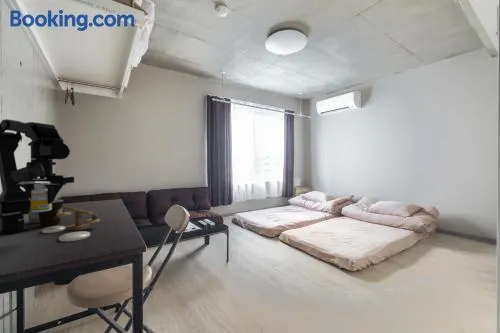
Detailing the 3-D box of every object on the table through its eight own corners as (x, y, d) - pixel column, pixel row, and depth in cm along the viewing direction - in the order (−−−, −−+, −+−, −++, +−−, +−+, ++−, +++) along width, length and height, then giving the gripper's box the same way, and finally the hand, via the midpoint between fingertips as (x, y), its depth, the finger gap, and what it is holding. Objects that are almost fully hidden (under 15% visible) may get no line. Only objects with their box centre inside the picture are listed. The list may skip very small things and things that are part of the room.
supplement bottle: (40, 209, 82) (40, 182, 82) (55, 209, 82) (56, 182, 82) (26, 212, 77) (26, 183, 76) (43, 212, 77) (43, 184, 77)
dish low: (51, 241, 77) (51, 239, 77) (72, 233, 86) (72, 231, 86) (78, 241, 77) (78, 239, 77) (95, 233, 86) (95, 231, 86)
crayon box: (28, 222, 99) (28, 196, 98) (34, 221, 102) (34, 195, 101) (45, 223, 99) (45, 196, 99) (51, 221, 102) (51, 195, 102)
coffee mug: (47, 228, 92) (47, 203, 92) (31, 226, 94) (31, 202, 93) (75, 220, 103) (75, 199, 103) (59, 219, 105) (59, 198, 105)
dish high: (36, 233, 86) (36, 230, 86) (52, 227, 93) (52, 225, 93) (55, 233, 86) (55, 231, 86) (69, 227, 93) (69, 226, 93)
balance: (52, 229, 90) (52, 207, 90) (63, 226, 95) (63, 204, 95) (94, 230, 90) (94, 207, 90) (102, 226, 95) (102, 205, 95)
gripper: (-12, 158, 71) (-11, 207, 71) (48, 159, 71) (48, 208, 71) (24, 158, 82) (24, 201, 83) (75, 159, 82) (75, 202, 83)
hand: (42, 203), depth 79 cm, fingers closed on supplement bottle, 5 cm apart
